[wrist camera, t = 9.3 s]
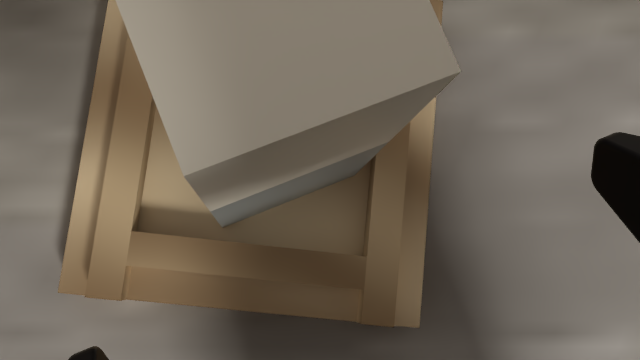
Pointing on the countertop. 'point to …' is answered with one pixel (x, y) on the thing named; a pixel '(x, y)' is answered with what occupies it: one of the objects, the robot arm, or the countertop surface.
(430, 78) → the plain gray box
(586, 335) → the countertop surface
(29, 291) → the countertop surface
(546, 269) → the countertop surface
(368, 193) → the wooden tray
